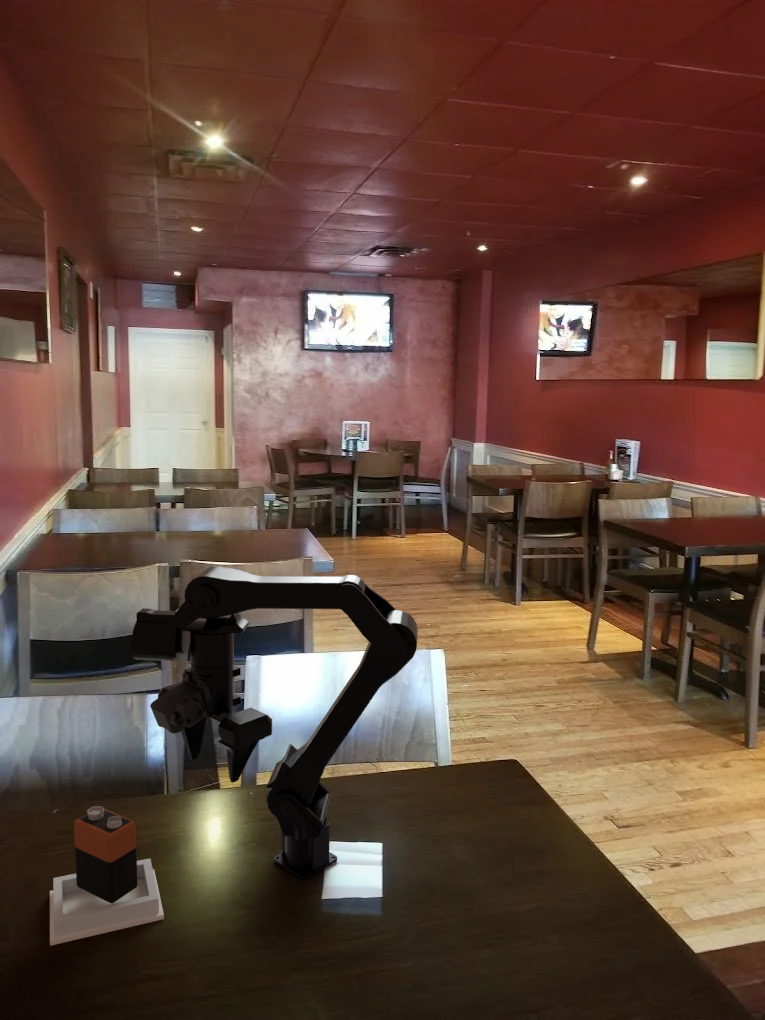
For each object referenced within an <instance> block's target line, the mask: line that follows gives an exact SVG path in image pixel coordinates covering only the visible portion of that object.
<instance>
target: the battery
mask: <svg viewBox="0 0 765 1020" xmlns="http://www.w3.org/2000/svg"><path fill="white" fill-rule="evenodd" d="M136 826H137V825H136V822H135V820H132V819H129V818H127V817H125V816H123V815H120V814H117V813H115V812H113V811H111V810H108V809H106V808H104V807H103V806H99V805H98V806H95V805H94V806H92V807H90V808H88V809H87V810H86V814H85V815H83V816H81V817H80V818H78V819H76V820H74V822H73V831H74V854H75V856H74V857H75V874H76V881H77V886H78V887H79V888H81V889H83V890H85V891H87V892H89V893H91V894H93V895H95V896H97V897H99V898H101V899H103V900H105V901H107V902H109V903H114V902H116V901H117V900H119V899H120V898H122V897H123V896H125V895H126V894H128V893H129V892H130V891H132V890H133V889H135V888H136V887H137V861H138V859H137V858H138V855H137V830H136Z"/></svg>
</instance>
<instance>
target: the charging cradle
mask: <svg viewBox="0 0 765 1020" xmlns="http://www.w3.org/2000/svg"><path fill="white" fill-rule="evenodd" d="M52 881H53V886H52V887H53V890H49V945H50V946H51V947H52V946H55V945H58V944H64V943H68V942H71V941H75V940H79V939H85V938H89V937H93V936H97V935H102V934H106V933H109V932H114V931H118V930H123V929H126V928H132V927H136V926H139V925H144V924H149V923H154V922H157V921H161V920H165V914H164V909H163V905H162V901H161V895H160V890H159V885H158V881H157V877H156V872H155V868H153V865H152V859H151V858H146V859H145V858H144V859H141V860H137V887H136V888H135V889H133V890H132V891H130V892H129V893H128V894H126V895H125V896H123V897H122V898H120V899H119V900H117V901H116V902H114V903H109V902H107V901H105V900H103V899H101V898H99V897H97V896H95V895H93V894H91V893H89V892H87V891H85V890H83V889H81V888H79V887H78V886H77V881H76V873H72V874H67V875H63V876H58V877H53V880H52Z"/></svg>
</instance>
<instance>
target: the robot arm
mask: <svg viewBox="0 0 765 1020" xmlns="http://www.w3.org/2000/svg"><path fill="white" fill-rule="evenodd" d="M183 597H184V601H183V603H182V604H181V605H180V607H178V608H177V609H176V610H159V609H158V610H157V609H153V608H141V609H140V610H139V611H137V612H136V621H135V623H134V627H133V629H132V635H131V638H130V640H129V646H130V647H129V648H130V654H131V656H132V658H133V659H134V660H142V661H143V660H144V661H161V662H162V661H164V662H171V661H172V662H177V661H179V660H180V659H181V657H182V655H186V654H187V653H188V652H189V648H190V667H188V668H184V669H183V670H184V672H183V673H182V681H180V682H177V683H173V684H171V685H167V686H164V687H162V688H161V690H160V691H159V693H158V694H157V698H156V699H155V700H153V701H152V702H151V703H150V709H151V711H152V714H153V717H154V718H155V721H156V723H157V726H158V727H160V728H162V729H165V730H167V731H168V732H169V733H171V734H178V733H181V737H182V738H183V741H184V744H185V747H186V750H187V753H188V755H189V758H190V760H192V761H195V760H197V759H198V758H199V757H200V753H201V749H202V746H203V741H204V735H205V729H206V725H207V721H208V718H211V719H213V720H215V721H217V722H219V723H218V735H219V737H220V739H219V740H217V743H219V745H221V746H222V747H223V748H225V749H226V758H227V759H226V760H227V767H228V777H229V781H230V783H232V784H234V783H235V782H236V783H237V782H238V781H239V780H240V778H241V776H242V774H243V771H244V769H245V767H246V766H247V764H248V761H249V759H250V757H251V755H252V753H253V752H254V750H255V748H256V747H257V745H258V743H259V742H260V741H262V740H264V739H266V738H267V737H271V736H272V735H273V718H271V717H270V716H269V715H268V714H266V713H264V712H262V711H260V710H257V709H255V708H253V707H248V708H245V709H243V710H240V711H235V710H234V707H235V706H238V705H240V704H242V703H241V702H242V699H241V698H242V697H241V696H240V695H238V694H235V678H236V677H238V676H241V669H242V668H241V667H239V666H236V665H235V652H234V651H235V648H234V647H235V643H234V642H235V639H234V636H235V635H234V634H240V635H241V634H243V633H244V632H245V630H247V628H248V627H249V626H250V622H249V621H248V620H247V619H245V618H244V617H243V616H242V615H241V614H240V613H243V612H248V611H250V610H257V609H259V610H260V609H262V610H263V609H265V610H266V609H267V610H275V609H276V610H277V609H278V610H283V609H284V610H341V611H342V612H343V613H344V614H345V615H346V616H347V617H348V619H350V621H351V622H352V623H353V624H354V626H355V627H356V628H357V630H358V631H359V632H360V634H361V635H362V636H363V638H365V639H366V640H367V641H368V643H367V646H366V648H365V650H364V652H363V656H362V658H361V661H360V663H359V664H358V666H357V668H356V669H355V670H354V672H353V674H352V675H351V676H350V678H349V679H348V681H347V682H346V684H345V686H344V687H343V689H342V690H341V691H340V693H339V695H338V696H337V697H336V698H335V700H334V702H333V703H332V705H331V706H330V708H329V709H328V711H327V712H326V713H325V715H324V717H323V718H322V720H321V721H320V722H319V724H318V725H317V727H316V728H315V729H314V731H313V732H312V734H311V736H310V738H309V739H308V740H307V742H305V743H304V744H303V745H301V747H299V748H298V749H297V748H296V747H295V746H294V745H292V744H291V743H290V744H289V745H288V747H287V749H286V752H285V754H284V756H283V757H282V758H281V759H279V760H278V761H277V762H276V763H275V766H274V768H273V771H272V773H271V775H270V777H269V780H268V782H267V785H266V789H269V791H268V793H267V795H266V800H265V802H266V803H267V808H268V810H269V812H270V813H271V814H272V815H273V816H274V817H276V819H277V821H278V822H277V823H278V824H279V826H280V830H281V851H282V852H281V853H279V854H278V855H275V856H274V858H273V862H274V863H276V864H277V865H278V866H280V867H282V868H283V869H285V870H286V871H288V872H290V873H291V874H293V875H294V876H296V877H298V878H299V879H301V880H302V881H303V880H305V881H306V880H308V879H309V878H311V877H312V876H315V875H316V874H318V873H319V872H321V871H323V870H324V869H326V868H328V867H329V866H331V865H333V864H334V862H335V863H337V861H338V856H337V855H335V854H334V853H332V852H330V829H331V828H330V826H331V825H330V824H331V823H330V822H328V821H327V820H328V819H327V817H326V816H327V815H326V814H327V810H328V806H329V802H330V798H331V791H329V789H328V788H326V786H324V784H323V783H321V782H320V781H321V778H322V776H323V774H324V771H325V770H326V768H327V765H328V764H329V763H330V761H331V759H332V758H333V757H334V755H335V754H336V752H337V750H338V749H339V748H340V746H342V744H343V742H344V741H345V739H346V738H347V736H348V735H349V733H350V731H351V730H352V729H353V728H354V726H355V724H356V723H357V722H358V720H359V718H360V717H361V716H362V714H363V713H364V711H365V710H366V709H367V707H368V706H369V704H370V703H371V701H372V700H373V698H374V697H375V696H376V694H377V692H378V691H379V690H380V688H381V687H382V686H383V685H384V684H386V683H387V682H388V681H390V680H391V679H392V678H394V677H395V676H397V674H398V673H399V672H400V671H402V670H403V669H404V667H406V665H407V664H408V663H409V662H411V660H412V659H413V657H414V656H415V654H416V652H417V647H418V638H419V637H418V633H419V630H418V624H417V622H416V620H415V618H414V617H413V615H412V616H411V614H410V613H408V612H406V611H403V610H400V609H399V610H397V608H396V607H394V606H393V604H391V602H389V601H388V600H387V599H386V598H384V597H383V596H381V595H380V594H379V593H378V592H376V591H375V590H374V589H372V588H370V587H369V585H367V583H366V582H364V580H363V579H362V578H361V577H359V576H357V575H355V574H347V575H344V576H316V575H315V576H303V575H302V576H298V575H297V576H296V575H295V576H292V575H291V576H290V575H289V576H283V575H282V576H281V575H280V576H278V575H277V576H275V575H269V576H268V575H264V576H263V575H257V574H252V573H249V572H247V571H244V570H242V569H236V568H230V567H224V566H219V565H218V566H217V565H216V566H210V567H209V566H208V568H206V569H204V570H203V571H202V572H200V573H199V574H198V575H196V576H195V577H193V578H192V579H191V580H190V581H189V583H188V584H187V586H186V588H185V590H184V596H183ZM198 619H204V620H198ZM332 863H333V864H332Z"/></svg>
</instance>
